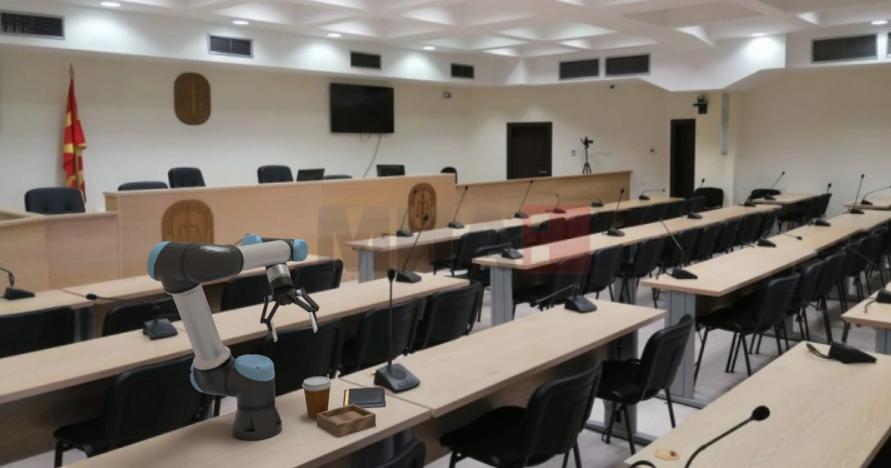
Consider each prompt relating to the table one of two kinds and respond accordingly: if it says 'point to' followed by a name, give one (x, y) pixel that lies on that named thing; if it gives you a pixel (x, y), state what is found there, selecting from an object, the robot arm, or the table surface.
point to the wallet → (365, 397)
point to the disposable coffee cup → (316, 395)
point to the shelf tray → (346, 420)
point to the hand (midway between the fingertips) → (296, 335)
